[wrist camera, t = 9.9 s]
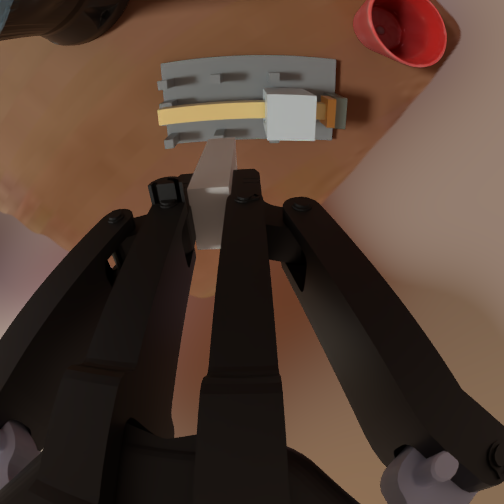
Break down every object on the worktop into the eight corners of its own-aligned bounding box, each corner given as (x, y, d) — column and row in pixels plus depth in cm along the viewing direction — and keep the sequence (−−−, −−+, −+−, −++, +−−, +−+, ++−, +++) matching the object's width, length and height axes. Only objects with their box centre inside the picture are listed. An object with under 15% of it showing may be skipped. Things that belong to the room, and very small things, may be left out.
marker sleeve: (262, 87, 31) (267, 94, 25) (302, 88, 31) (316, 95, 25) (263, 123, 34) (267, 140, 28) (301, 124, 34) (314, 141, 28)
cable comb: (162, 63, 31) (146, 64, 25) (334, 59, 31) (351, 60, 25) (170, 142, 38) (157, 157, 33) (330, 138, 38) (344, 153, 33)
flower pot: (377, 76, 32) (411, 84, 24) (326, 20, 27) (349, 9, 19) (421, 41, 27) (460, 44, 19) (374, -15, 22) (407, -28, 15)
